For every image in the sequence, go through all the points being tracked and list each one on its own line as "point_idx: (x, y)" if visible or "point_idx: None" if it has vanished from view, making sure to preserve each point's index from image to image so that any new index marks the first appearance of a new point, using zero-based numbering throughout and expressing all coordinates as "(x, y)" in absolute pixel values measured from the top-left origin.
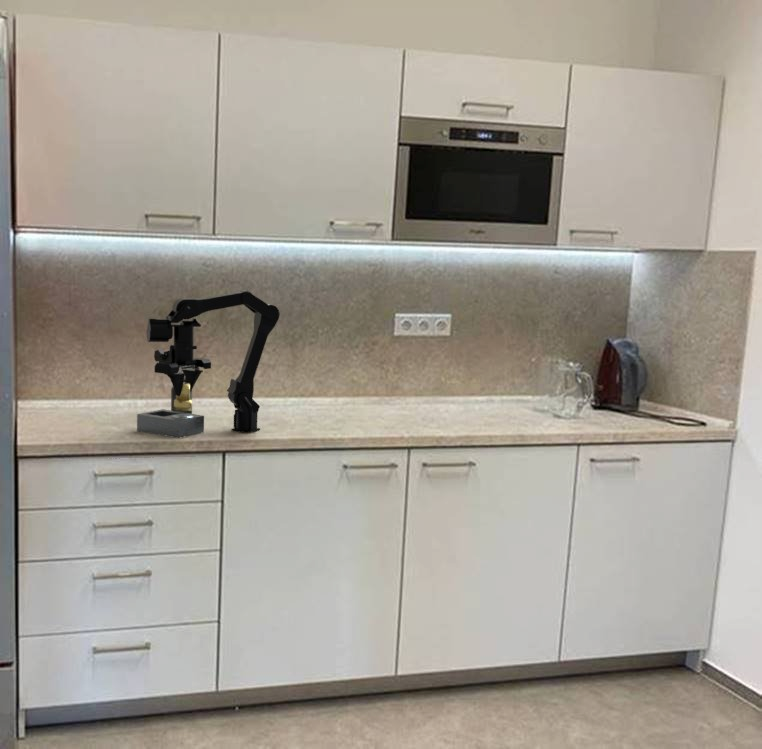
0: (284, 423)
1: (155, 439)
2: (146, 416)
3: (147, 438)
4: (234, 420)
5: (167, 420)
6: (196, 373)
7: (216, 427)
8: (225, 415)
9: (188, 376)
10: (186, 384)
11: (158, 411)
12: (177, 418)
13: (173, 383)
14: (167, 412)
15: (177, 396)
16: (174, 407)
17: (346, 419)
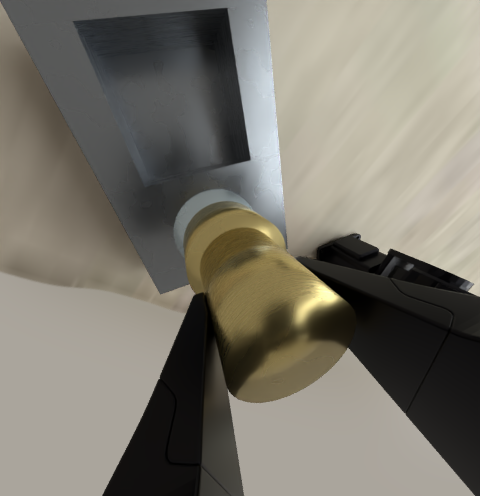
0: (424, 236)
1: (78, 246)
2: (52, 91)
3: (52, 219)
4: (345, 252)
5: (134, 243)
6: (465, 482)
7: (327, 193)
8: (474, 49)
9: (438, 374)
10: (275, 395)
11: (196, 8)
12: (179, 252)
13: (159, 410)
14: (234, 68)
15: (203, 286)
16: (184, 241)
17: (477, 256)
